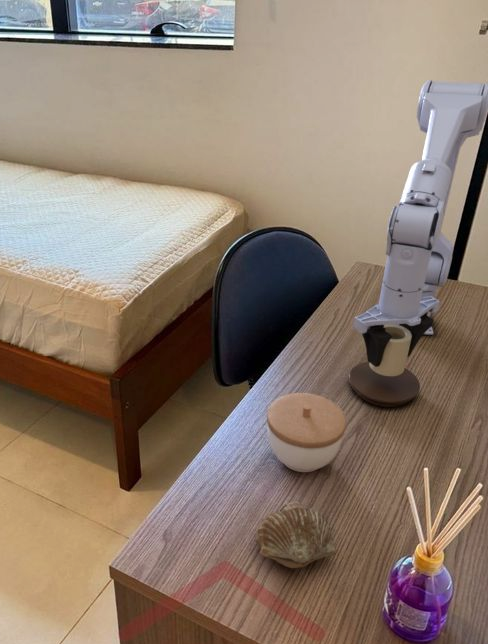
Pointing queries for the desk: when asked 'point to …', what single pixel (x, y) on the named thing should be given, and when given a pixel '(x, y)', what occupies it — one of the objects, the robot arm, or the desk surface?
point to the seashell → (295, 536)
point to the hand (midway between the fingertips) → (388, 358)
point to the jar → (394, 351)
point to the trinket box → (305, 430)
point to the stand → (383, 386)
